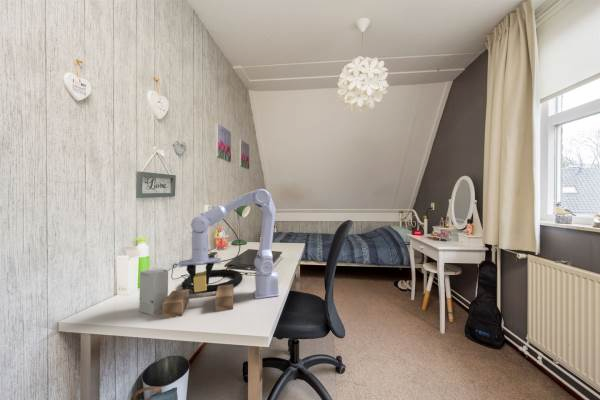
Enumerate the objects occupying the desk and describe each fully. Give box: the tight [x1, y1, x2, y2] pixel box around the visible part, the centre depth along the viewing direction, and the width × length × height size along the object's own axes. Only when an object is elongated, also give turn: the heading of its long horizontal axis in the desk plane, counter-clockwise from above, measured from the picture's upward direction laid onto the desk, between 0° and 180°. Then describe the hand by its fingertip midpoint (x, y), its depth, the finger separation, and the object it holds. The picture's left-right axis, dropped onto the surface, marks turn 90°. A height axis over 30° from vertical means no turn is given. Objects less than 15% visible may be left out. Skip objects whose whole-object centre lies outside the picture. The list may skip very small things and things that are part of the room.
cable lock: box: [181, 268, 244, 294], centre depth 112 cm, size 28×4×30 cm
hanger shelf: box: [162, 284, 235, 319], centre depth 89 cm, size 23×12×5 cm, turn 104°
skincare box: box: [138, 267, 169, 316], centre depth 87 cm, size 8×6×15 cm
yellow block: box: [193, 271, 209, 292], centre depth 89 cm, size 4×6×5 cm, turn 14°
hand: (201, 284), depth 89 cm, fingers closed on yellow block, 4 cm apart
